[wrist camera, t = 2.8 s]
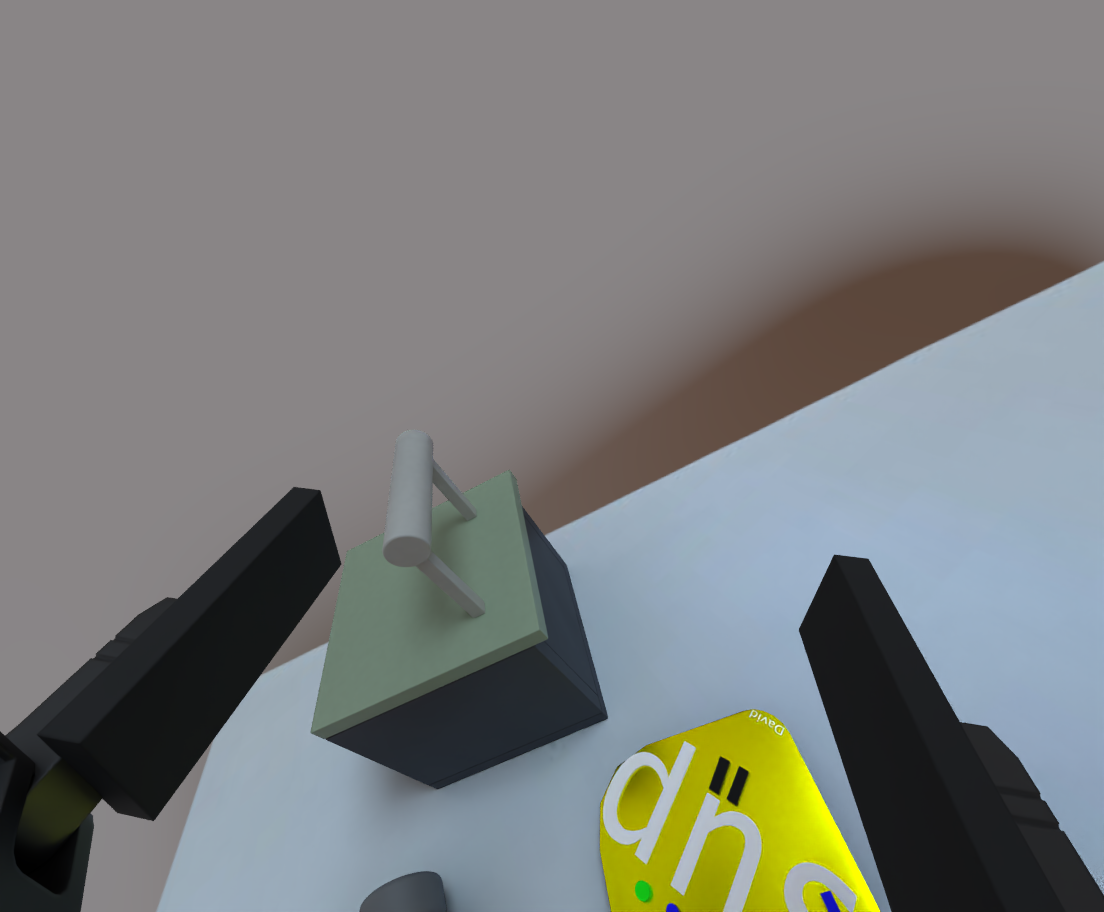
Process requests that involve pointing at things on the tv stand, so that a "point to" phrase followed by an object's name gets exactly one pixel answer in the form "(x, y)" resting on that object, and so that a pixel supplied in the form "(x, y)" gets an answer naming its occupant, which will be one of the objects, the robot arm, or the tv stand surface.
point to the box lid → (428, 593)
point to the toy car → (408, 895)
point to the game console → (725, 827)
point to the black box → (495, 697)
